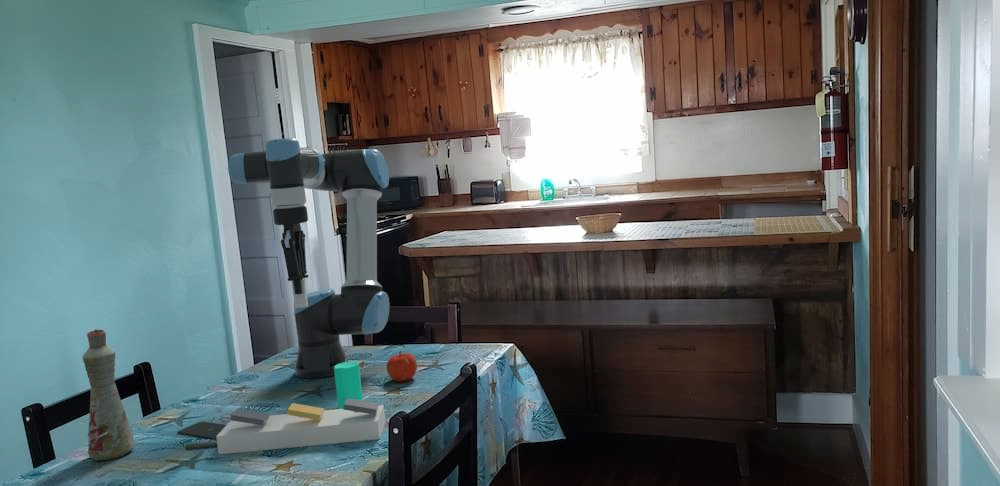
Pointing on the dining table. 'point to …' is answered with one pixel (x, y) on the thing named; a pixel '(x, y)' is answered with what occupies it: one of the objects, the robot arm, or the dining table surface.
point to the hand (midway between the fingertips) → (301, 306)
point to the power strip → (298, 431)
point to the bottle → (105, 403)
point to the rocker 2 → (305, 411)
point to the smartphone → (203, 430)
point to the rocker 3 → (361, 406)
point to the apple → (402, 367)
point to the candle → (347, 382)
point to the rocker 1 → (249, 416)
